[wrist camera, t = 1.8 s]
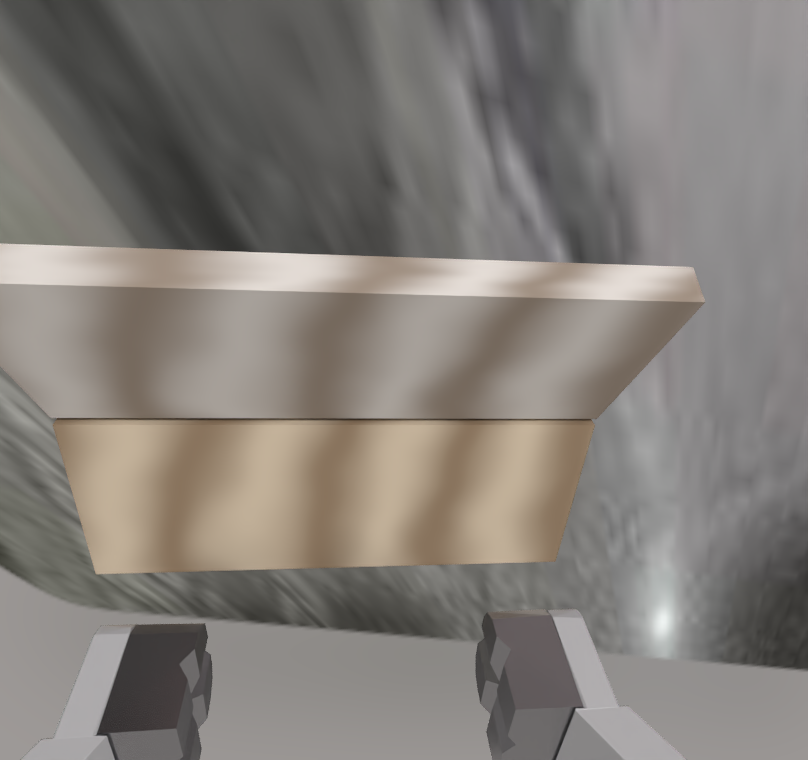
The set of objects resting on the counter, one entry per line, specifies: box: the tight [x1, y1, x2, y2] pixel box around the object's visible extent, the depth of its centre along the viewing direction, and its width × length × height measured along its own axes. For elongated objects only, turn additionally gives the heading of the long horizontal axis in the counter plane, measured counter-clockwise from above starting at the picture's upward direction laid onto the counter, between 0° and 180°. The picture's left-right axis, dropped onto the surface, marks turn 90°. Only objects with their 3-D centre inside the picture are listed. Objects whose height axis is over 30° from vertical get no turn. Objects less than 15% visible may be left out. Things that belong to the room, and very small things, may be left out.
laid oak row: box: [53, 418, 595, 574], centre depth 32 cm, size 26×10×2 cm, turn 86°
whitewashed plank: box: [0, 244, 705, 419], centre depth 25 cm, size 26×10×2 cm, turn 86°
